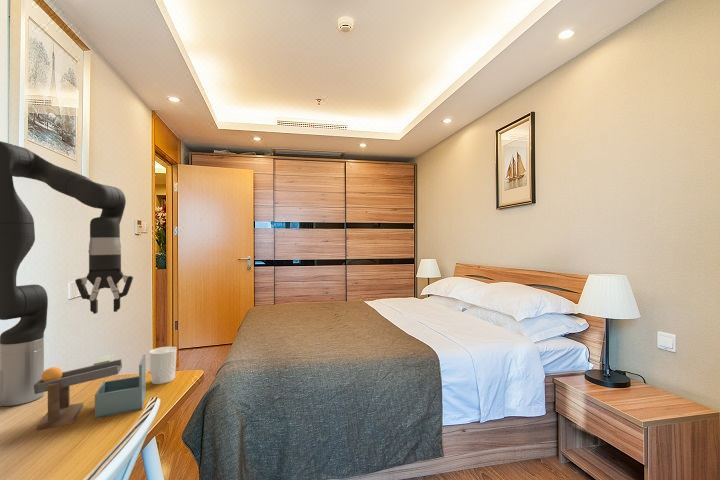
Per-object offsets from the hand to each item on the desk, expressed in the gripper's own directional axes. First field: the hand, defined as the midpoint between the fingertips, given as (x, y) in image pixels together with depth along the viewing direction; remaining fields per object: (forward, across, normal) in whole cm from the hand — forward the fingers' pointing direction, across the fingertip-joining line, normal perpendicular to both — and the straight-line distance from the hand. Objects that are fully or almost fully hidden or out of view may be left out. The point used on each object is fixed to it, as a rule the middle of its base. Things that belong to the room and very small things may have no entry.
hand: (105, 312), depth 100 cm
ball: (+14, +10, +8) cm, 19 cm away
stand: (+25, +9, +8) cm, 28 cm away
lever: (+16, +4, +4) cm, 17 cm away
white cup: (+25, -14, -8) cm, 30 cm away
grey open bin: (+25, -5, +8) cm, 27 cm away
